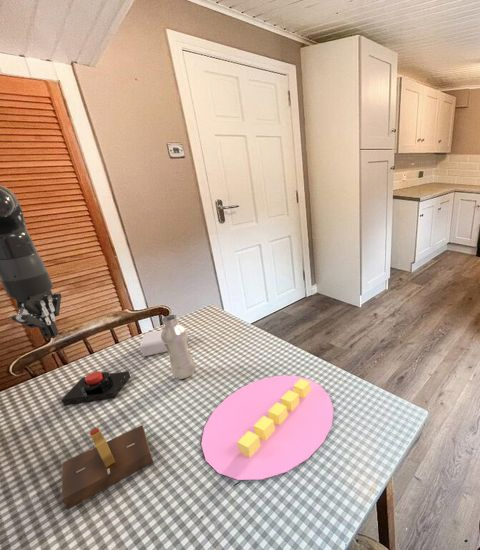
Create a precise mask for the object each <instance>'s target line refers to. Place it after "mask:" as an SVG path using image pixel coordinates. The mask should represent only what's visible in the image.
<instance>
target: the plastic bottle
mask: <svg viewBox="0 0 480 550" xmlns="http://www.w3.org/2000/svg"><path fill="white" fill-rule="evenodd" d="M161 321H162V326H163V329H162V330H163V331H162V333H161V339H162V341H163V343H164V345H165V347H166V349H167V354H168V358H169V363H170V372H171V374H172V376H173V377H174V378H176V379H179V380H183V379H187V378H189V377H191V376H192V375H193V374H194V373H195V372H196V367H197V366H196V362H195V360H194V358H193V356H192V354H191V351H190V348H189V343H188V340H187V332H188V331H187V329H186V328H185V327H184V325H182V324H180V323H179V319H178V316H177V315H176V314H169V315H166V316H163V317H162V318H161Z"/></svg>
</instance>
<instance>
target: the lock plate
mask: <svg viewBox="0 0 480 550" xmlns="http://www.w3.org/2000/svg"><path fill="white" fill-rule="evenodd" d="M106 442H107V444H108V447H109V449H110V451H111V453H112V455H113V458H114V460H115V463H113V464H111V465H110V466H108V467H105V465H104V463H103V461H102V459H101V457H100V455H99V453H98V451H97V449H96V446H94V447H93V448H91V449H87V450H86V451H84V452H82V453H79V454H78V455H75V456H73V457H71V458H69V459H67V460H65V461H62V474H61V475H62V478H61V479H62V483H61V501H62V502H63V504H64V505H65V507H66V509H67V510H69V509H72V508H73V507H75V506H77V505H78V504H80V503H81V504H82V503H83V502H84V501H86V500H89V498H92V497H94V496H95V495H97V494H100V493H101V492H102V491H104V490H107V489H108V488H110V487H112V486H113V485H116V484H117V483H120V482H121V481H123V480H124V479H126V478H129V477H130V476H132V475H133V474H135V473H138V472H139V471H141V470H143V469H144V468H146V467H148V466H150V465H152V464H153V463H154V462H155V461H154V458H153V454H152V450H151V447H150V444H149V439H148V437H147V432H146V430H145V428H144V425H143V424H141V425H139V426H137V427H135V428H133V429H131V430H129V431H126V432H124V433H123V434H122V433H121V434H120V435H118V436H116V437H114V438H112V439H109V440H106Z"/></svg>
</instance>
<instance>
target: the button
mask: <svg viewBox="0 0 480 550" xmlns="http://www.w3.org/2000/svg"><path fill="white" fill-rule="evenodd" d="M101 372H102V371H93V372H91V373H89V374H87V375H86V376H84V377H85V381H86V383H87V384H88V385H91V384H95V383H98V382H99V381H101V380H102V379H103V375H102V373H101Z"/></svg>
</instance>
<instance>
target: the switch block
mask: <svg viewBox="0 0 480 550" xmlns="http://www.w3.org/2000/svg"><path fill="white" fill-rule="evenodd" d="M100 372H101V373H102V375H103V379H102V380H101V381H99V382H98V383H95V384H91V385H88V384H87V383H86V381H85V377H86V376H83V377H81V378H80V379H79V380H78V382H76V384H74V385H73V387H72V388H71V389H70V390H68V392H67V393H66V394H65V395H64V396H63V397H62V398H61V402H62V404H63V406H65V407H67V406H72V405H78V404H79V405H81V404H86V403H94V402H100V401H101V402H102V401H106V400H107V401H108V400H115V399H116V398H117V396H118V395H119V394H120V392H121V391H122V390H123V388H124V387H125V386H126V384H127V383H128V381H129V380H130V379H131V374H130V371H128V370H127V371H120V372H112V373H110V372H107V371H100Z"/></svg>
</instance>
